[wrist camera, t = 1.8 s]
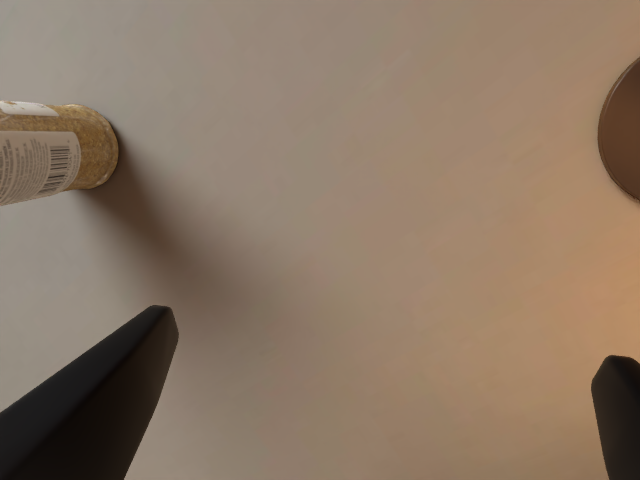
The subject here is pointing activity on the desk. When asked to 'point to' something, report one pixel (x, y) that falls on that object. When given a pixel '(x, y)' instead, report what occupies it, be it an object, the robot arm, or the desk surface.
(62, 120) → the spice jar
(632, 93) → the coaster
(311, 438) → the desk surface
